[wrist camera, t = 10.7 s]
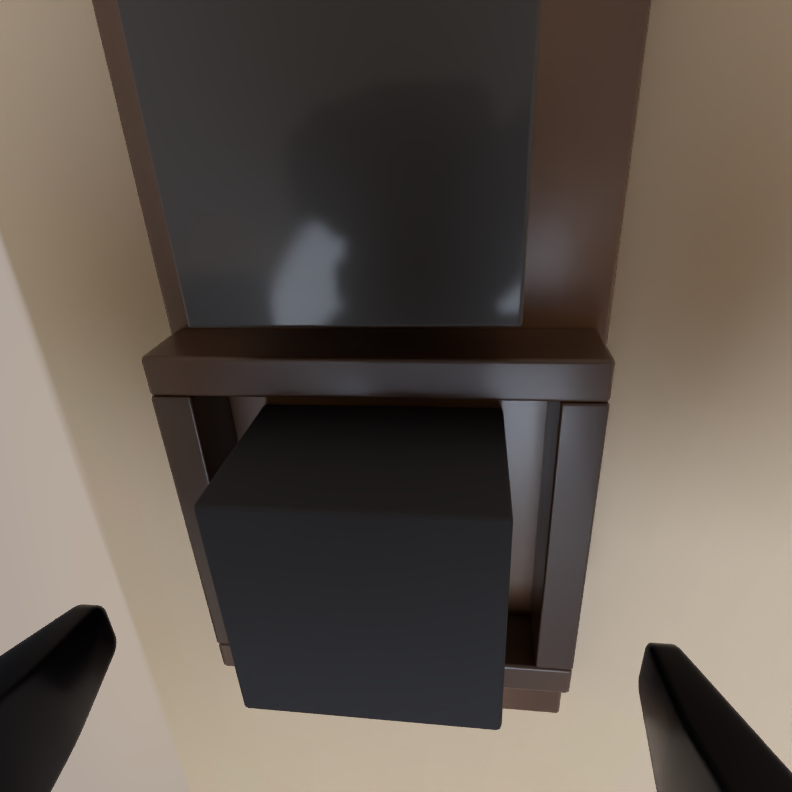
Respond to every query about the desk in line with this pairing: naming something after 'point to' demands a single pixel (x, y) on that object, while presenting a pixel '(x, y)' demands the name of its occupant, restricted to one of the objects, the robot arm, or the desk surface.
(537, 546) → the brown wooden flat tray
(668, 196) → the desk surface
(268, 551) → the black cube
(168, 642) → the desk surface
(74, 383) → the desk surface
